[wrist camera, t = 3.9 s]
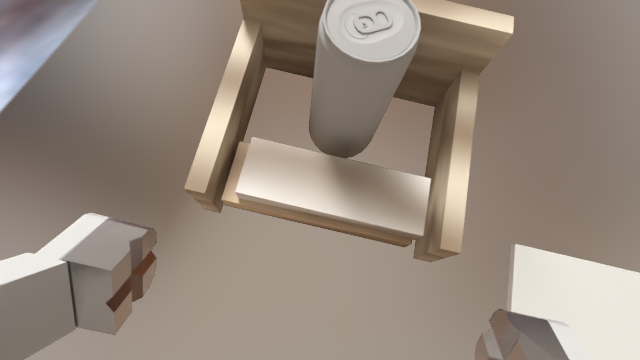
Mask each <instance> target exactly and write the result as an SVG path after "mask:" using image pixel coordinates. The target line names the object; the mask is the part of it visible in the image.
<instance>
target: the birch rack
mask: <svg viewBox="0 0 640 360" xmlns="http://www.w3.org/2000/svg"><path fill="white" fill-rule="evenodd" d="M240 1H241V7H242V13H243V22H242V25H241V27H240V30H239V33H238V36H237V39H236V42H235V45H234V47H233V50H232V53H231V56H230V59H229V62H228V65H227V67H226V70H225V73H224V76H223V79H222V82H221V85H220V87H219V90H218V93H217V96H216V99H215V102H214V104H213V107H212V110H211V113H210V116H209V119H208V122H207V124H206V127H205V130H204V133H203V136H202V139H201V141H200V144H199V147H198V150H197V153H196V156H195V159H194V161H193V164H192V167H191V170H190V173H189V176H188V179H187V182H186V184H185V187H184V189H185V190H186V191H187V192H188V193H189V194H190V195H191V196H192V197H193V198H194V200H195V201H196V202H197V203H198V204H199V205H200V206H201V207H202V208H203V209H206V210H210V211H214V212H219V213H221V209H222V206H223V201H222V200H221V199H222V196H223V193H224V189H225V186H226V183H227V180H228V177H229V173H230V170H231V167H232V164H233V161H234V158H235V154H236V151H237V148H238V145H239V142H240V141H241V142H243V139H244V136H245V133H246V130H247V126H248V123H249V120H250V117H251V113H252V110H253V107H254V104H255V101H256V97H257V94H258V91H259V88H260V85H261V81H262V78H263V75H264V72H265V69H266V67H267V68H272V69H276V70H280V71H285V72H289V73H293V74H297V75H302V76H306V77H311V78H314V68H315V58H316V47H317V37H318V27H319V21H320V18H321V15H322V13H323V10H324V7H325V5H326V2H327V0H240ZM411 1H412V2H413V4H414V5H415V6H416V8H417V11H418V13H419V16H420V21H421V31H420V35H419V41H418V45H417V49H416V52H415V54H414V56H413V58H412V60H411V62H410V64H409V66H408V68H407V70H406V72H405V74H404V76H403V78H402V80H401V82H400V84H399V86H398V88H397V90H396V91H395V93H394V95H393V97H396V98H400V99H404V100H409V101H413V102H417V103H421V104H426V105H430V106H435V110H434V117H433V124H432V131H431V138H430V145H429V152H428V160H427V166H426V173H425V177H427V178H431V183H430V190H429V197H428V205H427V212H426V219H425V226H424V234H423V236H422V237H420V238H418V239H416V243H415V251H414V257H413V258H415V259H420V260H424V261H428V262H432V261H436V260H439V259H443V258H446V257H450V256H453V255H457V254H460V253H461V248H462V238H463V229H464V228H463V227H464V219H465V209H466V200H467V190H468V180H469V170H470V161H471V151H472V142H473V133H474V123H475V114H476V104H477V94H478V85H479V75H480V73H481V72H482V71H483V69H484V68H485V67H486V66H487V65H488V63H489V62H490V61H491V59H492V58H493V57H494V56H495V55H496V54H497V52H498V51H499V50H500V49H501V48H502V46H503V45H504V44H505V43H506V42H507V40H508V39H509V38H510V37H511V35H512V34H513V24H514V17H513V16H508V15H504V14H499V13H495V12H491V11H487V10H483V9H478V8H474V7H470V6H466V5H461V4H457V3H453V2H448V1H444V0H411Z"/></svg>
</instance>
